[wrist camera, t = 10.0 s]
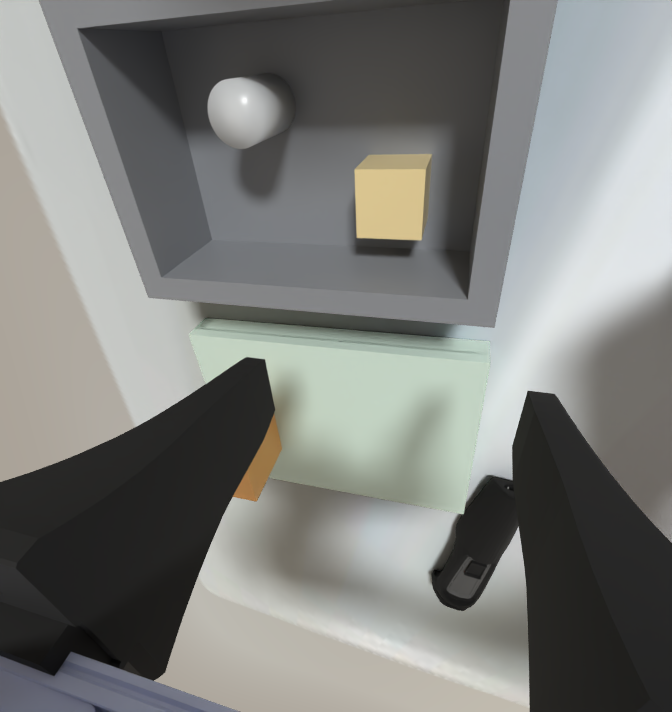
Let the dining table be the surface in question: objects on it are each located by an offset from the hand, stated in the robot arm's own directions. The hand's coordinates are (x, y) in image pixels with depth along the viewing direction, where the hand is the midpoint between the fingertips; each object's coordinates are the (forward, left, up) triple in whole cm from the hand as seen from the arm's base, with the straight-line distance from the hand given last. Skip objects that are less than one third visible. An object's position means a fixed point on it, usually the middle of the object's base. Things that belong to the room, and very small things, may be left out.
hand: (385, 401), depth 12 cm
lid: (+4, +10, -9) cm, 14 cm away
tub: (+4, -5, -9) cm, 11 cm away
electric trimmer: (-5, +21, -10) cm, 23 cm away
